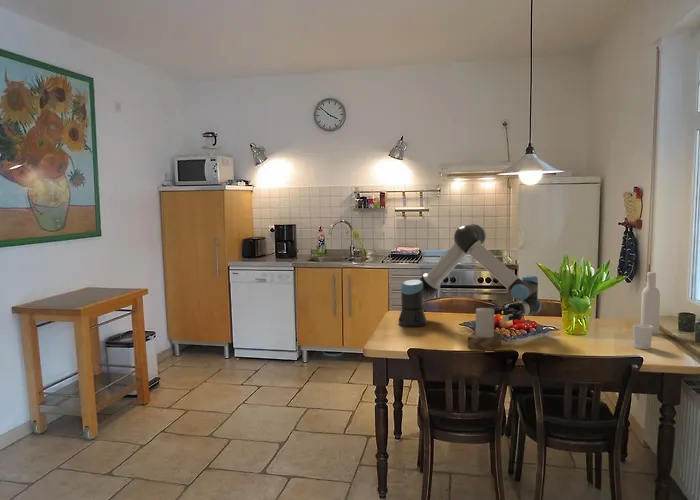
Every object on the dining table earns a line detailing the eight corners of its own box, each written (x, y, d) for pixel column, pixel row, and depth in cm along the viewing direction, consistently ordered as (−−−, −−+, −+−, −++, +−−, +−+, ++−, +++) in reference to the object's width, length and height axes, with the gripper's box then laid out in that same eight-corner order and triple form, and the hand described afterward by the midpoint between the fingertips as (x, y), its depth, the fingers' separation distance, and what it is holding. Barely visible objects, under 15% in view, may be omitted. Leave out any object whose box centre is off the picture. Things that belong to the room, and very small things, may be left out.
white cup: (627, 345, 236) (628, 323, 235) (644, 344, 237) (645, 323, 236) (639, 350, 228) (639, 328, 227) (656, 349, 229) (656, 327, 228)
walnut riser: (467, 347, 238) (467, 336, 237) (476, 341, 248) (476, 330, 247) (493, 351, 232) (493, 340, 231) (501, 344, 242) (501, 333, 241)
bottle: (643, 329, 262) (645, 270, 259) (660, 332, 256) (663, 272, 253) (637, 333, 256) (640, 272, 253) (655, 335, 251) (658, 274, 247)
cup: (494, 338, 235) (494, 311, 233) (476, 337, 236) (476, 311, 235) (493, 333, 242) (493, 308, 241) (475, 332, 244) (475, 307, 243)
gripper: (541, 321, 244) (514, 329, 231) (496, 313, 264) (469, 320, 251) (541, 306, 243) (514, 313, 230) (496, 298, 263) (469, 304, 250)
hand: (490, 316), depth 241 cm, fingers open, 13 cm apart
